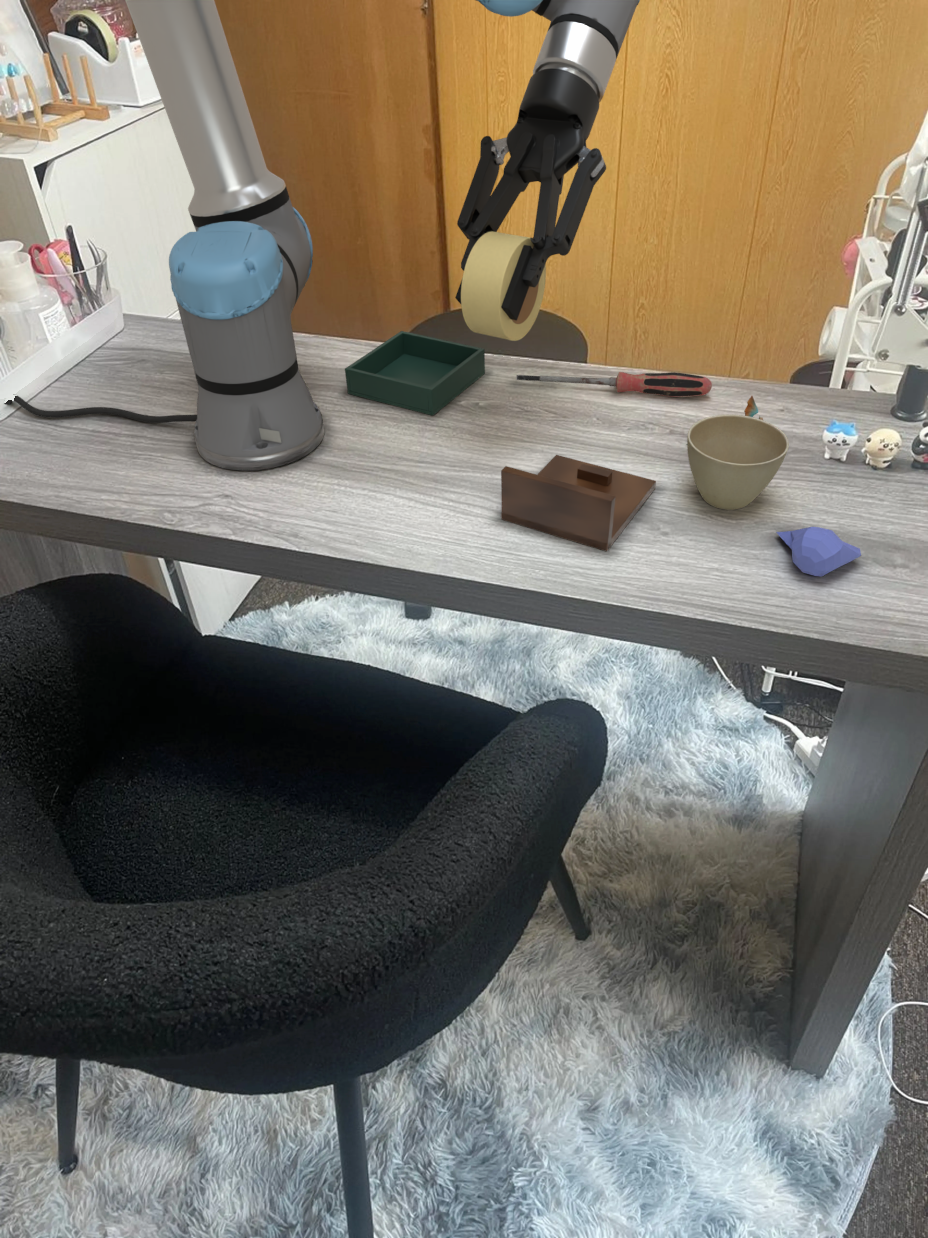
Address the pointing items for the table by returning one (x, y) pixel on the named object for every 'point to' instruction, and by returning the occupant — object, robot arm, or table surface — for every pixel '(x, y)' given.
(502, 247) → the tape roll
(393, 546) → the table surface
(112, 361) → the table surface
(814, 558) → the bird figurine
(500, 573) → the table surface
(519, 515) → the phone holder
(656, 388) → the screwdriver
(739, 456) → the flower pot
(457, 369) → the tray
